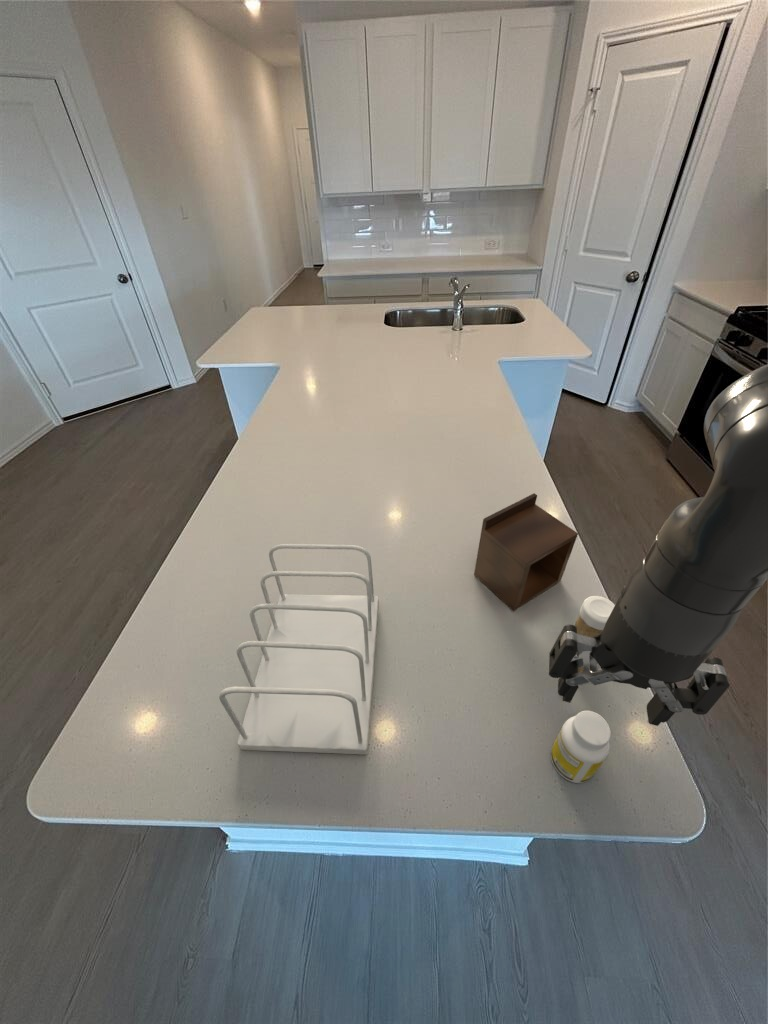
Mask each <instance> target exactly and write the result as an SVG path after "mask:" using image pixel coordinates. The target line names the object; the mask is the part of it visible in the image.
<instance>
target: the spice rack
mask: <svg viewBox="0 0 768 1024" xmlns="http://www.w3.org/2000/svg"><path fill="white" fill-rule="evenodd" d="M537 499H538V494H536V493H532V494H530V495H528V496H526V497H523V498H522V499H519V500H517V501H516V502H514V503H512V504H509V505H507V506H505V507H504V508H502V509H500V510H498V511H496V512H494V513H492V514H490V515H488V516H485V517H484V518H482V524H481V531H480V536H479V537H480V538H479V542H478V547H477V554H476V562H475V567H474V573H473V576H475V577H476V578H477V579H478V580H479V581H480V582H481V583H482V584H483V585H484V586H485V587H486V588H487V589H489V591H491V592H492V593H493V594H494V595H495V596H496V597H497V598H498V599H499V600H500V601H501V602H502V603H504V604H505V605H506V606H507V607H508V608H509V609H510V610H511V611H512V612H515V611H517V610H518V609H520V608H521V607H523V606H524V605H526V604H527V603H529V602H530V601H532V600H534V599H535V598H537V597H538V596H540V595H542V594H543V593H546V591H548V590H549V589H551V588H553V587H554V586H556V585H558V584H559V583H560V582H561V581H562V579H563V576H564V573H565V570H566V568H567V565H568V563H569V560H570V557H571V554H572V551H573V549H574V546H575V543H576V540H577V538H578V535H579V533H578V532H577V531H576V530H574V529H572V528H571V527H569V526H568V525H567V524H565V523H564V522H562V521H561V520H559V518H556V517H554V516H553V515H552V514H550V513H549V512H548V511H546V510H545V509H543V508H541V506H539V505H538V504H536V502H537Z"/></svg>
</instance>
